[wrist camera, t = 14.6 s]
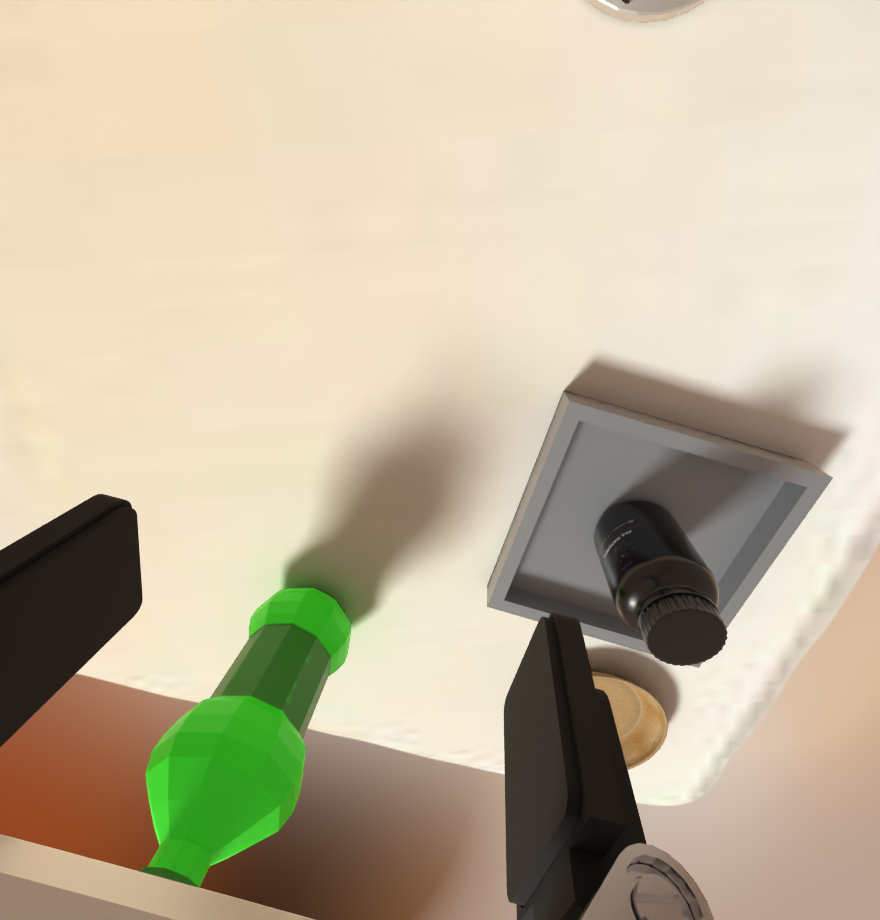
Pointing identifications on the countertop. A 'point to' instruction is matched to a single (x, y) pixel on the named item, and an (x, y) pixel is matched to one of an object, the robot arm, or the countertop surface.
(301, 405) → the countertop surface
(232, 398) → the countertop surface
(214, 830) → the plastic bottle
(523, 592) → the tray
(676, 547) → the supplement bottle
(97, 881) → the robot arm
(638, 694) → the plant saucer
